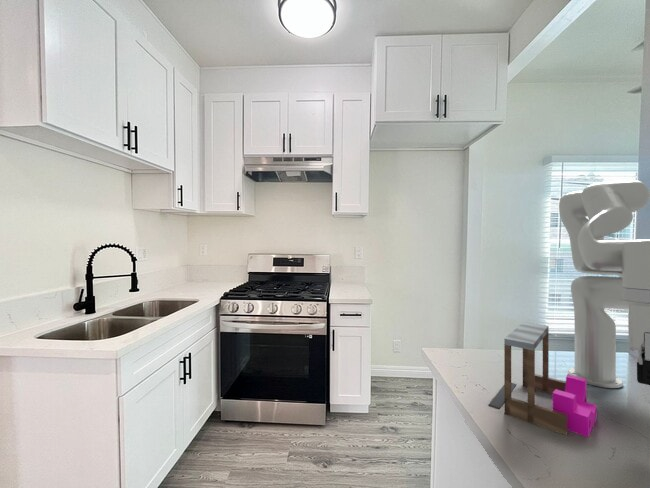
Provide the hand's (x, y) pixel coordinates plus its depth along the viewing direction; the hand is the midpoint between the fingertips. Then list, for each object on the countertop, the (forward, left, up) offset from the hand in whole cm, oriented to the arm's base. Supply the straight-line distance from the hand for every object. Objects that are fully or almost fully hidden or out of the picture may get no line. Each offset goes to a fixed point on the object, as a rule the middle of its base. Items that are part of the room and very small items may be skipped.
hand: (647, 383), depth 65 cm
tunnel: (-1, -19, -12) cm, 22 cm away
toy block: (0, -12, -12) cm, 17 cm away
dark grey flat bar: (-1, -27, -12) cm, 30 cm away
